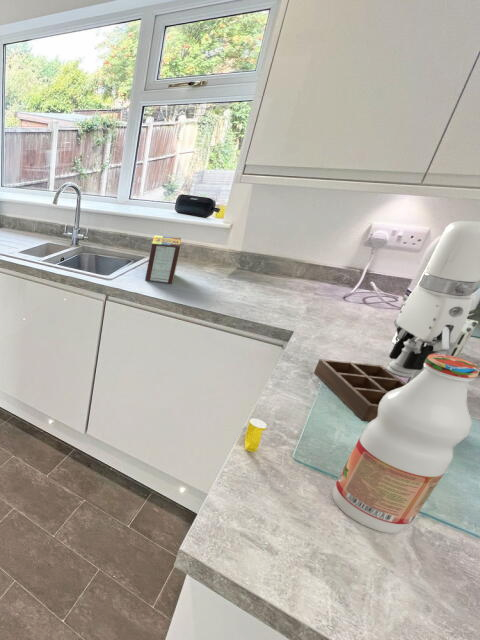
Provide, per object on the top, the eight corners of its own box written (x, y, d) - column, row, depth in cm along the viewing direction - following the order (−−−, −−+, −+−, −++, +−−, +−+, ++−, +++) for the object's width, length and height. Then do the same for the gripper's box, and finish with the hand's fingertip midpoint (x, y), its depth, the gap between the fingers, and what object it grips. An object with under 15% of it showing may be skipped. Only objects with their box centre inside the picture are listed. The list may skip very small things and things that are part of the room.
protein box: (173, 273, 177) (181, 237, 171) (172, 284, 165) (181, 246, 158) (147, 269, 181) (154, 234, 175) (144, 280, 169) (151, 243, 162)
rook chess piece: (396, 367, 94) (412, 335, 91) (419, 377, 90) (436, 345, 87) (380, 368, 93) (396, 337, 90) (402, 379, 89) (419, 347, 86)
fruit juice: (354, 530, 64) (443, 377, 52) (318, 483, 72) (388, 342, 60) (424, 540, 62) (532, 384, 51) (379, 491, 71) (463, 348, 59)
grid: (374, 379, 103) (382, 365, 101) (437, 430, 85) (447, 414, 84) (313, 372, 105) (319, 358, 104) (361, 421, 88) (369, 405, 86)
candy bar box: (418, 372, 106) (449, 313, 99) (445, 381, 102) (480, 321, 95) (403, 384, 101) (435, 324, 94) (431, 395, 97) (468, 332, 90)
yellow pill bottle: (240, 435, 83) (248, 411, 81) (256, 440, 82) (265, 416, 80) (241, 454, 79) (250, 429, 76) (258, 459, 78) (268, 434, 75)
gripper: (507, 301, 75) (456, 386, 82) (436, 273, 89) (398, 347, 97) (457, 298, 76) (411, 382, 84) (395, 270, 91) (361, 344, 99)
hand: (404, 362), depth 90 cm, fingers closed on rook chess piece, 3 cm apart
